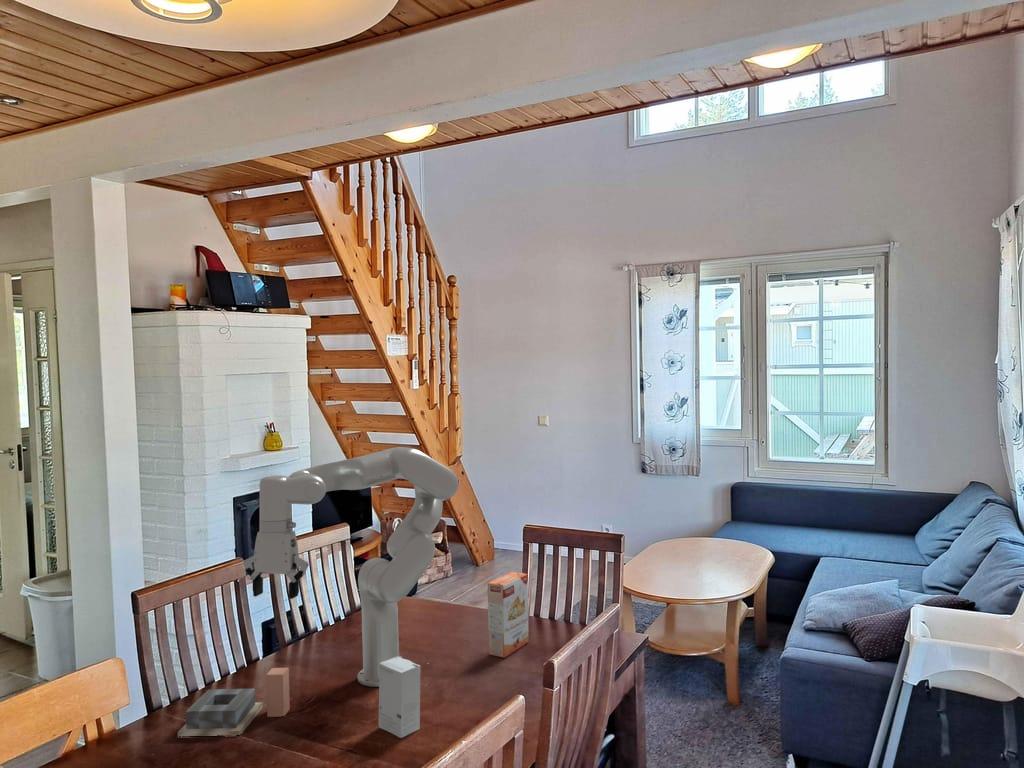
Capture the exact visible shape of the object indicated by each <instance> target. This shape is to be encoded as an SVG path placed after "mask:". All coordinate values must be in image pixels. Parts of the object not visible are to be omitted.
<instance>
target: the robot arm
mask: <svg viewBox="0 0 1024 768" xmlns="http://www.w3.org/2000/svg"><path fill="white" fill-rule="evenodd" d="M398 479H403V480H406V481H408V482H410V483H412V484H413V488H414V493H415V496H414V503H413V505H412V507H411V509H410V510H409V512H408V514H407V515H406V516H405V517H404V519H402V521H401V522H400V523H399V525H398V526H397V527H396V528H395V530H394V531H393V532H392V533H391V535H390V536H389V538H388V540H387V542H386V551H387V553H388V554H389V556H390V557H391V558H392V559H391V560H390V561H389V560H387V559H385V558H382V557H372V558H371V559H368V560H366V561H365V562H364V563H363V564H362V565H361V567H360V569H359V572H358V576H357V585H358V592H359V597H360V604H361V605H360V606H361V634H362V635H361V637H362V638H361V639H362V641H361V642H362V669H361V670H360V671H359V672H358V674H357V682H358V683H360V684H361V685H363V686H367V687H374V688H375V687H376V688H377V687H378V688H379V671H380V664H379V663H381V662H384V661H387V660H389V659H392V658H395V657H400V658H403V656H402V655H400V646H399V645H400V644H399V643H400V641H399V640H400V639H399V638H400V637H399V611H398V610H399V609H398V602H401V601H402V600H403V599H405V597H407V595H408V594H409V593H410V591H411V590H412V589H413V588H414V587H415V585H416V584H417V583H418V581H419V580H420V579H421V577H422V576H423V575H424V573H425V572H426V570H427V569H428V568H429V567H430V564H431V563H432V562H433V560H434V556H435V554H436V545H435V541H434V539H433V538H432V537H431V535H432V533H433V532H434V530H435V529H436V527H437V525H438V524H439V523H440V520H441V518H442V516H443V514H442V513H443V501H445V500H449V499H451V498H452V497H454V496H455V495H456V494H457V492H458V489H459V487H460V486H459V485H460V483H459V479H458V476H457V475H456V473H455V472H454V471H453V470H452V469H450V468H449V467H447V466H446V465H444V464H442V463H440V462H439V461H438V460H435V459H434V458H432V457H431V456H429V455H427V454H426V453H424V452H422V451H421V450H419V449H416V448H414V447H413V448H412V447H407V446H406V447H405V446H397V447H391V448H387V449H383V450H379V451H375V452H371V453H368V454H365V455H361V456H357V457H352V458H348V459H343V460H339V461H335V462H329V463H328V462H327V463H324V464H323V463H322V464H319V465H318V464H317V465H315V466H311V467H308V468H304V469H299V470H297V471H293V472H292V473H291V474H290V475H288V476H287V475H269V476H268V475H267V476H264V477H262V478H261V479H260V481H259V531H257V534H256V537H255V542H254V544H255V545H254V552H253V555H252V556H250V557H248V558H246V559H245V560H243V562H242V564H243V566H244V568H245V572H246V573H247V574H248V576H250V577H249V578H250V580H251V581H252V594H253V597H257V596H260V595H262V594H263V593H264V579H263V574H274V575H286V576H287V577H288V579H289V580H290V582H288V599H290V600H293V599H294V598H297V597H298V596H299V594H300V593H299V592H300V580H301V579H302V577H303V576H304V575H305V574H306V571H307V570H308V568H309V566H310V563H309V562H308V561H307V560H304V559H302V557H299V546H298V540H297V539H298V538H297V534H296V531H295V530H293V529H295V528H296V527H297V523H296V522H293V518H292V516H293V515H292V514H293V513H292V508H293V507H292V505H313V504H316V503H319V502H321V500H323V498H324V497H325V495H326V493H327V492H332V491H333V492H334V491H340V490H341V491H342V490H344V491H345V490H347V491H348V490H349V491H357V490H363V489H367V488H372V487H374V486H378V485H381V484H384V483H387V482H391V481H394V480H398ZM252 563H253V564H252ZM298 569H299V570H298ZM410 661H411V662H413V661H412V660H410Z"/></svg>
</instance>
